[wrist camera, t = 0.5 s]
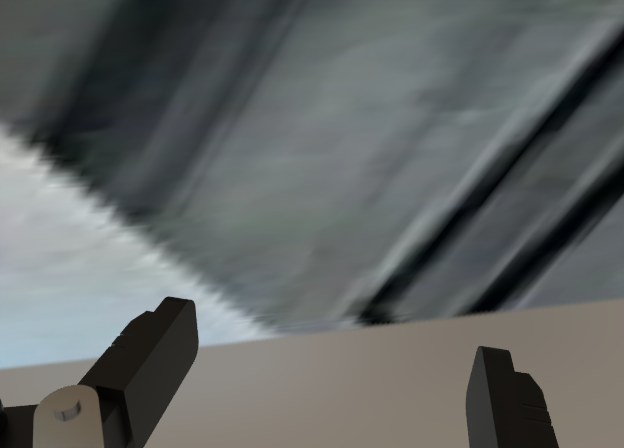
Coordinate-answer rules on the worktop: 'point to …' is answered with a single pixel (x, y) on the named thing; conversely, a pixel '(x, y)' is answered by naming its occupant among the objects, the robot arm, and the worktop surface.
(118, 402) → the robot arm
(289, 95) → the worktop surface
